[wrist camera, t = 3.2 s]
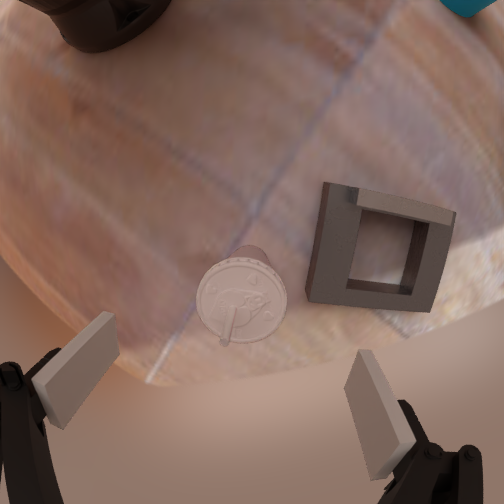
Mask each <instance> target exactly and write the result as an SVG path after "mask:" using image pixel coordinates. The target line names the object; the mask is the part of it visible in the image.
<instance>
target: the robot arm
mask: <svg viewBox="0 0 504 504" xmlns="http://www.w3.org/2000/svg"><path fill="white" fill-rule="evenodd" d="M19 1H21V2H23V3H25V4H27V5H30V6H32V7H34V8H36V9H38V10H40V11H41V12H43V13H45V14H47V15H49V16H50V18H51V19H52V21H53V22H54V23H55V25H56V26H57V28H58V29H59V30H60V33H61V35H62V37H63V39H64V40H65V41H66V42H67V43H68V44H69V45H71V46H73V47H75V48H77V49H79V50H81V51H84V52H102V51H106V50H109V49H112V48H115V47H117V46H119V45H121V44H123V43H125V42H127V41H129V40H131V39H132V38H134V37H135V36H137V35H138V34H140V33H141V32H143V31H144V30H145V29H146V28H148V27H149V26H150V25H151V24H152V23H153V22H154V21H155V20H156V19H157V18H158V17H159V16H160V15H161V14H162V12H163V11H164V10H165V9H166V7H167V6H168V4H169V2H170V1H171V0H19ZM119 354H120V353H119V346H118V337H117V328H116V317H115V314H114V313H110V312H106V311H103V312H102V313H101V314H100V315H99V316H97V317H96V318H95V319H94V320H93V321H92V322H91V323H90V324H89V325H87V326H86V327H85V328H84V329H83V330H82V331H81V332H80V333H79V334H78V335H77V336H75V337H74V339H72V340H71V341H70V342H69V343H68V344H67V345H66V346H65V347H64V348H63V349H61V348H56V349H54V350H51V351H49V352H48V353H47V354H46V355H45V356H44V358H42V359H41V360H40V361H39V363H36V365H34V366H33V367H32V368H31V369H30V370H29V371H28V372H27V373H26V374H25V375H23V372H22V370H21V367H20V366H19V365H18V363H15V362H5V363H3V364H1V365H0V482H1V473H2V464H4V472H5V480H6V486H7V492H8V497H9V502H10V504H64V503H63V499H62V496H61V493H60V490H59V487H58V483H57V480H56V476H55V472H54V469H53V464H52V460H51V455H50V451H49V446H48V441H47V435H46V429H45V424H44V421H43V419H44V418H45V416H46V415H47V417H48V419H49V421H50V423H51V424H53V425H54V426H57V427H58V428H60V429H62V430H64V428H65V427H66V425H67V424H68V423H69V421H70V420H71V418H72V417H73V416H74V414H75V413H76V411H77V410H78V409H79V407H80V406H81V405H82V403H83V402H84V401H85V399H86V398H87V397H88V395H89V394H90V392H91V391H92V390H93V388H94V387H95V386H96V384H97V383H98V382H99V381H100V379H101V378H102V376H103V375H104V374H105V373H106V371H107V370H108V369H109V367H110V366H111V365H112V363H113V362H114V361H115V360H116V358H117V357H118V356H119ZM344 389H345V393H346V396H347V399H348V402H349V406H350V409H351V412H352V416H353V419H354V422H355V426H356V429H357V433H358V436H359V440H360V443H361V447H362V450H363V454H364V458H365V461H366V465H367V469H368V473H369V476H370V480H371V481H372V480H379V479H385V478H387V477H388V476H389V474H390V473H391V472H392V471H393V474H394V479H393V480H392V481H391V482H390V483H389V484H388V485H387V486H386V487H385V488H384V490H386V491H385V492H384V494H383V496H382V497H381V499H380V500H379V502H378V504H483V468H482V456H481V452H480V451H479V450H478V448H476V447H475V446H473V445H464V446H462V447H461V449H460V450H459V451H458V452H445V451H443V449H442V448H441V447H440V446H439V445H437V444H436V443H431V442H429V440H428V438H427V436H426V434H425V432H424V430H423V428H422V426H421V424H420V422H419V421H418V418H417V416H416V415H415V412H414V411H413V408H412V407H411V405H410V404H408V403H407V402H406V401H405V400H397V399H396V397H395V395H394V393H393V391H392V389H391V387H390V385H389V383H388V381H387V379H386V377H385V375H384V374H383V372H382V369H381V368H380V366H379V364H378V362H377V360H376V358H375V356H374V354H373V352H372V351H371V350H358V352H357V355H356V358H355V361H354V364H353V366H352V369H351V372H350V374H349V377H348V379H347V382H346V384H345V387H344Z"/></svg>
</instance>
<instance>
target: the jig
mask: <svg viewBox="0 0 504 504" xmlns="http://www.w3.org/2000/svg"><path fill="white" fill-rule="evenodd" d="M362 209H364V210H369V211H375V212H380V213H384V214H389V215H394V216H399V217H403V218H408V219H413V220H416V221H415V226H414V231H413V235H412V240H411V244H410V249H409V253H408V257H407V261H406V265H405V269H404V273H403V276H402V280H401V283H400V285H396V284H387V283H379V282H370V281H362V280H354V279H348V277H349V272H350V268H351V263H352V259H353V254H354V250H355V245H356V240H357V235H358V230H359V224H360V219H361V213H362ZM455 217H456V212H453V211H451V210H447V209H444V208H440V207H436V206H433V205H429V204H425V203H421V202H418V201H414V200H410V199H406V198H401V197H397V196H393V195H389V194H384V193H380V192H375V191H371V190H366V189H361V188H355V187H350V186H345V185H340V184H334V183H328V182H324V184H323V191H322V198H321V204H320V210H319V217H318V223H317V228H316V234H315V240H314V246H313V251H312V256H311V262H310V267H309V272H308V277H307V282H306V287H305V291H306V294H307V298H308V301H309V302H314V303H324V304H333V305H343V306H353V307H363V308H374V309H386V310H399V311H412V312H427V313H430V311H431V308H432V305H433V302H434V299H435V296H436V293H437V290H438V286H439V283H440V280H441V276H442V273H443V269H444V266H445V262H446V258H447V254H448V250H449V246H450V241H451V237H452V232H453V228H454V223H455Z"/></svg>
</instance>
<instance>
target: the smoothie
mask: <svg viewBox="0 0 504 504" xmlns="http://www.w3.org/2000/svg"><path fill="white" fill-rule="evenodd" d="M196 306H197V311H198V314H199V316H200V318H201V320H202V322H203V323H204V325H205V326H206V327H207V328H208V329H209V330H210V331H211V332H212V333H214V334H215V335H216V336H218V337H220V341H219V343H220V345H222V346H228V345H229V342H235V343H252V342H256V341H259V340H262V339H264V338H266V337H268V336H269V335H271V334H272V333H273V332H274V331H275V330H276V329H277V328H278V327H279V326H280V324H281V323H282V321H283V319H284V316H285V313H286V307H287V294H286V290H285V286H284V284H283V282H282V280H281V278H280V277H279V275H278V274H277V273H276V272H275V271H274V270H273V269H272V268H271V265H270V263H269V261H268V259H267V257H266V255H265V253H264V252H263V251H262V250H261V249H260V248H258V247H255V246H250V245H248V246H243V247H241V248H239V249H237V250H236V251H235V252H234V253H233V254H232V255H231V256H230V257H229V258H227V259H226V260H223V261H221V262H219V263H217V264H215V265H213V266H212V267H211V268H210V269H209V270H208V271H207V272H206V273H205V275H204V277H203V279H202V280H201V282H200V285H199V287H198V290H197V295H196Z"/></svg>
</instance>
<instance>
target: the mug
mask: <svg viewBox="0 0 504 504" xmlns="http://www.w3.org/2000/svg"><path fill="white" fill-rule="evenodd" d="M440 1H441V2H442V3H443V4H444V5H445V6H446V7H448V8H449V9H450V10H451V11H453V12H455V13H457V14H458V15H461V16H463V17H471V16H473V15H474V14H476V13H478V12H479V11H481V10H482V9H484V8H485V7H487V6H489V5H490V4H492V3H494V2H495V1H497V0H440Z"/></svg>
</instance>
